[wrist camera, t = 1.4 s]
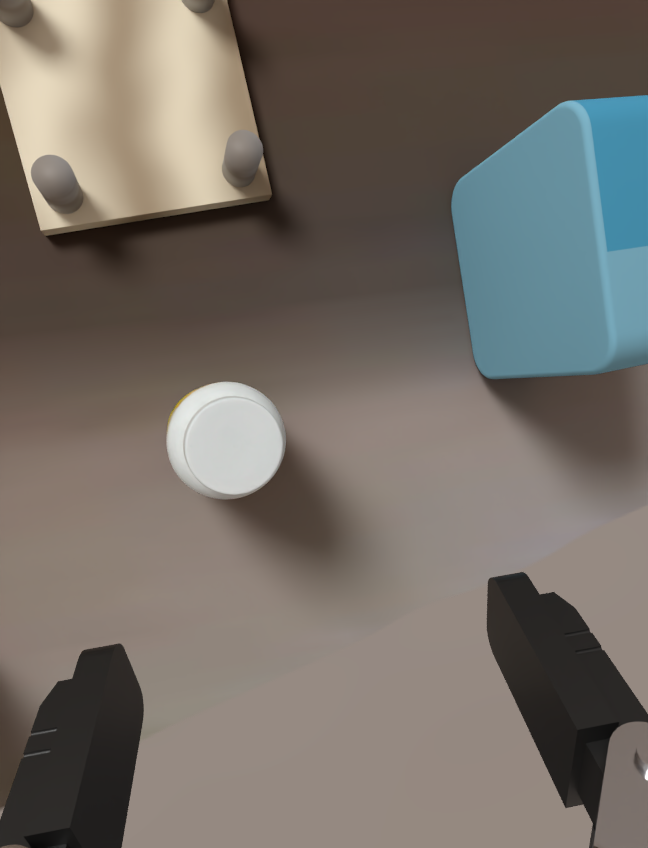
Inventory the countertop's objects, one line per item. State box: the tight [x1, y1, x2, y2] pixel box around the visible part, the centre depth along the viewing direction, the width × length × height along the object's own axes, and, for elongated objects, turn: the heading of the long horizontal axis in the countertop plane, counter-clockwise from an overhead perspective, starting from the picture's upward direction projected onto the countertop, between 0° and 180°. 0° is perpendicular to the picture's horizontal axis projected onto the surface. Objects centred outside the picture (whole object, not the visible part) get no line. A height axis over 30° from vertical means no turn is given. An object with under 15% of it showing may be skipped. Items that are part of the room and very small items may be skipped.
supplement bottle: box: [167, 382, 286, 500], centre depth 28 cm, size 5×5×10 cm
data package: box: [451, 95, 648, 379], centre depth 30 cm, size 12×4×12 cm, turn 11°
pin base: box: [0, 0, 272, 236], centre depth 28 cm, size 12×12×4 cm
